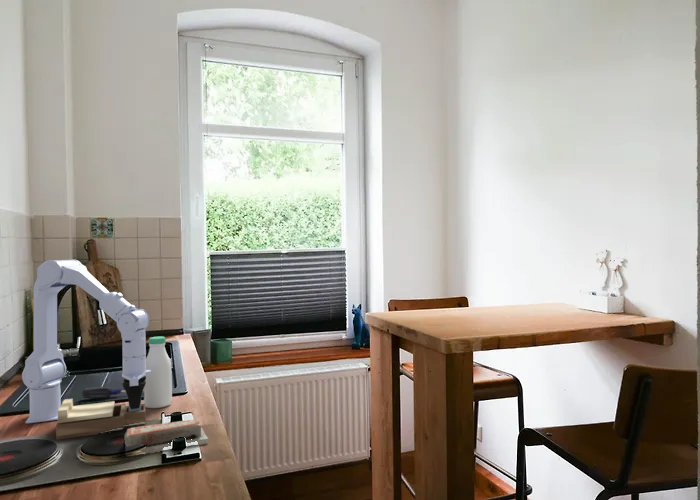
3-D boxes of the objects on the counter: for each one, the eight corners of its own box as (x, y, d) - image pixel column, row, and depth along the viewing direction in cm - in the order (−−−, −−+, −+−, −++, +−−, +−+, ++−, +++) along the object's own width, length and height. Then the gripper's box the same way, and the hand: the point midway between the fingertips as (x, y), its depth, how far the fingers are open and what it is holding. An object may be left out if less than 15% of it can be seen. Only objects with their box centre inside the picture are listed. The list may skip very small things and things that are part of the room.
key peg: (129, 420, 134) (128, 390, 134) (141, 419, 135) (140, 389, 135) (129, 424, 131) (128, 393, 131) (141, 422, 132) (140, 392, 132)
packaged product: (124, 438, 109) (123, 424, 118) (124, 460, 109) (124, 444, 118) (208, 424, 117) (201, 412, 126) (208, 445, 117) (202, 431, 126)
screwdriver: (171, 389, 164) (171, 377, 164) (172, 392, 161) (172, 380, 161) (82, 399, 154) (82, 387, 154) (81, 402, 151) (81, 390, 151)
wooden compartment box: (63, 424, 132) (63, 411, 132) (145, 413, 139) (145, 401, 139) (56, 439, 120) (56, 425, 121) (145, 427, 128) (145, 414, 128)
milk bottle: (177, 403, 148) (176, 336, 148) (154, 410, 142) (153, 340, 142) (161, 399, 152) (160, 334, 152) (138, 406, 146) (137, 338, 146)
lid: (64, 410, 131) (64, 399, 131) (114, 404, 136) (114, 393, 136) (58, 423, 121) (57, 411, 121) (112, 416, 126) (112, 404, 126)
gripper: (150, 359, 128) (151, 412, 128) (150, 349, 141) (150, 397, 141) (120, 362, 125) (121, 416, 125) (122, 351, 138) (123, 400, 138)
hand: (135, 406), depth 133 cm, fingers closed on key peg, 3 cm apart
